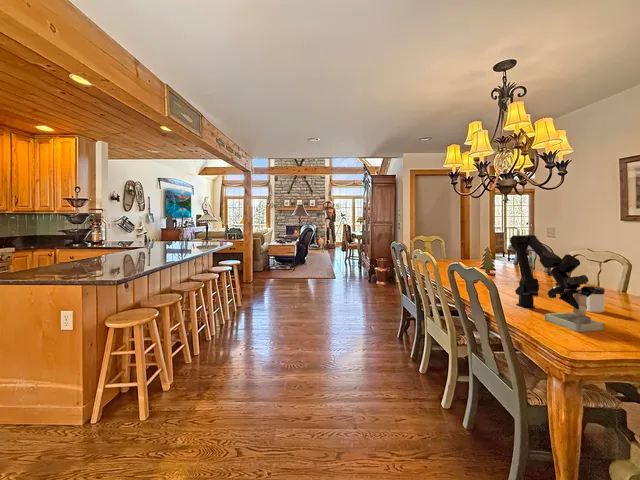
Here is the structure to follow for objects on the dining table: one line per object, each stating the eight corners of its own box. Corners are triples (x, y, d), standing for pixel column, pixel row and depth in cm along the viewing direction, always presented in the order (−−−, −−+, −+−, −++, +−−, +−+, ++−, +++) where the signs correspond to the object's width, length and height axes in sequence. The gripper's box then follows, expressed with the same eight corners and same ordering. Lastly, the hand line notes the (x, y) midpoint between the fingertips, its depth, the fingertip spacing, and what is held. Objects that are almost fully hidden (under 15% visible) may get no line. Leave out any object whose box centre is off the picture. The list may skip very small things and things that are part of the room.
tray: (544, 320, 148) (545, 314, 148) (567, 318, 151) (568, 312, 151) (578, 332, 133) (578, 325, 133) (603, 330, 135) (604, 323, 135)
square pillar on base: (567, 320, 142) (569, 293, 141) (577, 320, 142) (579, 293, 142) (579, 325, 136) (580, 296, 135) (590, 325, 137) (591, 296, 136)
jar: (599, 313, 159) (601, 290, 158) (579, 309, 165) (581, 287, 164) (605, 311, 163) (607, 288, 163) (586, 307, 170) (587, 285, 169)
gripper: (554, 268, 141) (573, 299, 131) (593, 268, 142) (616, 299, 132) (539, 282, 149) (557, 312, 139) (577, 282, 151) (597, 312, 140)
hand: (582, 308), depth 138 cm, fingers closed on square pillar on base, 3 cm apart
